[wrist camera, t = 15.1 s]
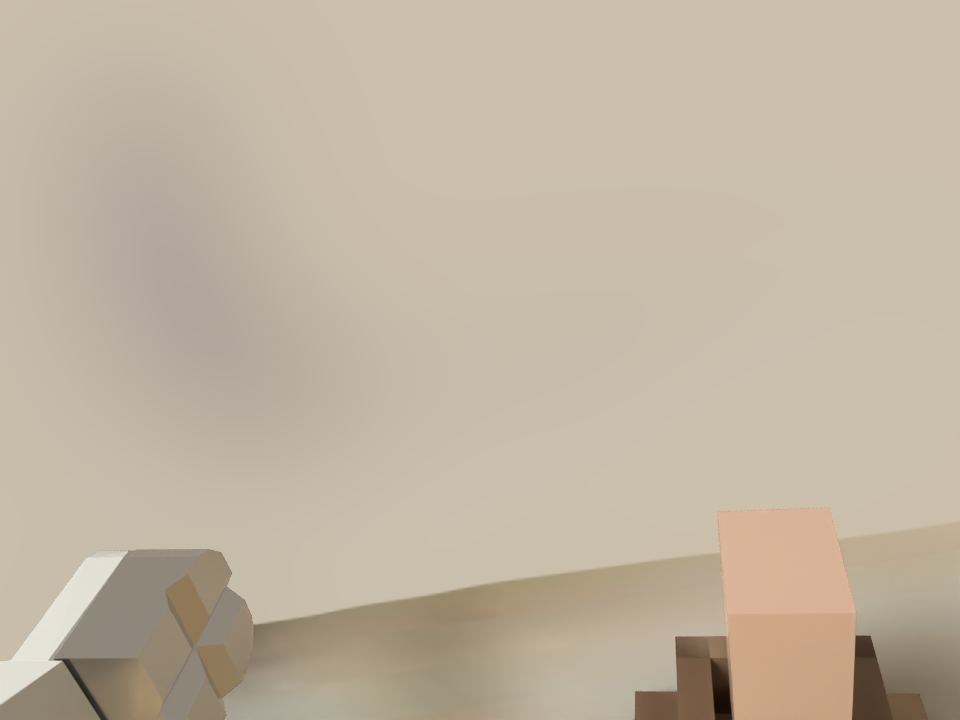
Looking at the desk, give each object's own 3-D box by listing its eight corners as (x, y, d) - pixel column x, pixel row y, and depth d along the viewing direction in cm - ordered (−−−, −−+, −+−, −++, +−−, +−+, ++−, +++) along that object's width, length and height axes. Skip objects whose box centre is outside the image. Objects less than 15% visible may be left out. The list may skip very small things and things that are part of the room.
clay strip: (743, 847, 36) (727, 614, 29) (733, 739, 40) (717, 511, 33) (846, 853, 35) (856, 612, 28) (825, 741, 39) (829, 507, 32)
